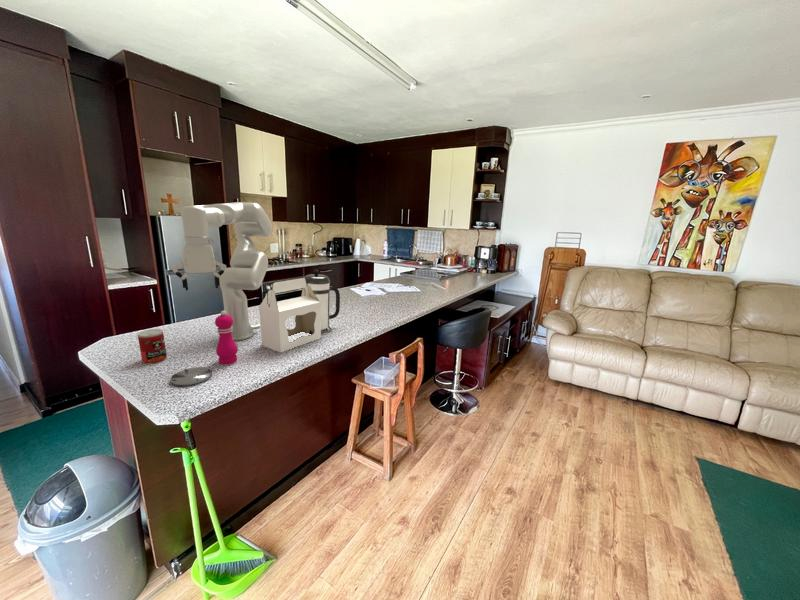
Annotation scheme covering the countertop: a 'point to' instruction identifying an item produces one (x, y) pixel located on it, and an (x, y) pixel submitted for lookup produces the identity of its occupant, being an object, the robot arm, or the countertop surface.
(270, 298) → the gable box
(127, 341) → the countertop surface
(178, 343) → the countertop surface
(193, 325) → the countertop surface
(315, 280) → the coffee press
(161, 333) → the canned food
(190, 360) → the countertop surface
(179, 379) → the grey metal disc
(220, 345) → the pepper mill
